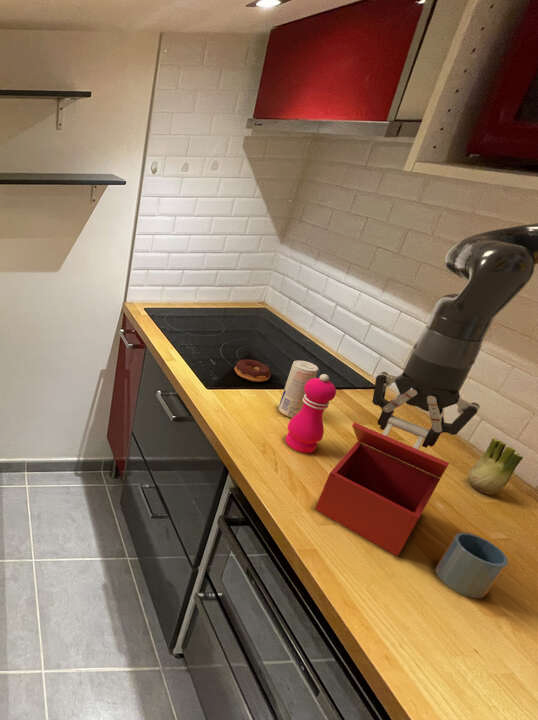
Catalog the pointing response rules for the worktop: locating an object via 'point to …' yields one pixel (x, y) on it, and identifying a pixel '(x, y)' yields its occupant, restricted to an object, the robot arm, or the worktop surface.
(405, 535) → the cooler
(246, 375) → the donut
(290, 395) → the beverage can
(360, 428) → the cooler lid
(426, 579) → the worktop surface
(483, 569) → the cup
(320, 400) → the pepper mill
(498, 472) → the fennel bulb
